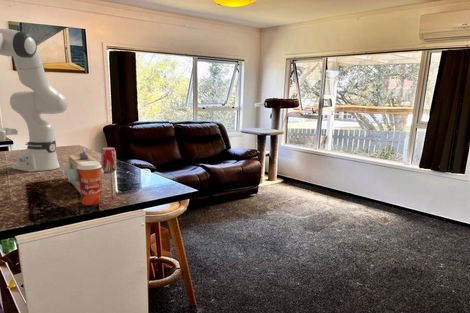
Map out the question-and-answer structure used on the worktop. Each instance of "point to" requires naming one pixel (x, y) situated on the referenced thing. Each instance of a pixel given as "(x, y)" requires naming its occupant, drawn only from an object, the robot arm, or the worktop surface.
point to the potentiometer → (83, 155)
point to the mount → (74, 162)
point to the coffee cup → (89, 182)
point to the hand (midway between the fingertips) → (16, 131)
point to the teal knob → (75, 175)
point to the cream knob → (66, 168)
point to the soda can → (108, 159)
